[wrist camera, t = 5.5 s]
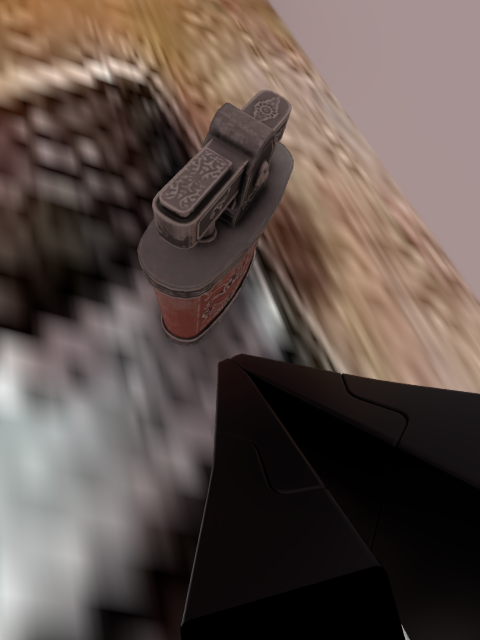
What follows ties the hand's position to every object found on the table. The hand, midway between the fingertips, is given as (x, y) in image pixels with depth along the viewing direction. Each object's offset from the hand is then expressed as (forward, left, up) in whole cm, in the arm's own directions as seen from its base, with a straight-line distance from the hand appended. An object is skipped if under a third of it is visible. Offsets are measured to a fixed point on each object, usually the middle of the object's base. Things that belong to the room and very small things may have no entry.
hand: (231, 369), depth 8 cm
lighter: (+6, -2, -7) cm, 9 cm away
